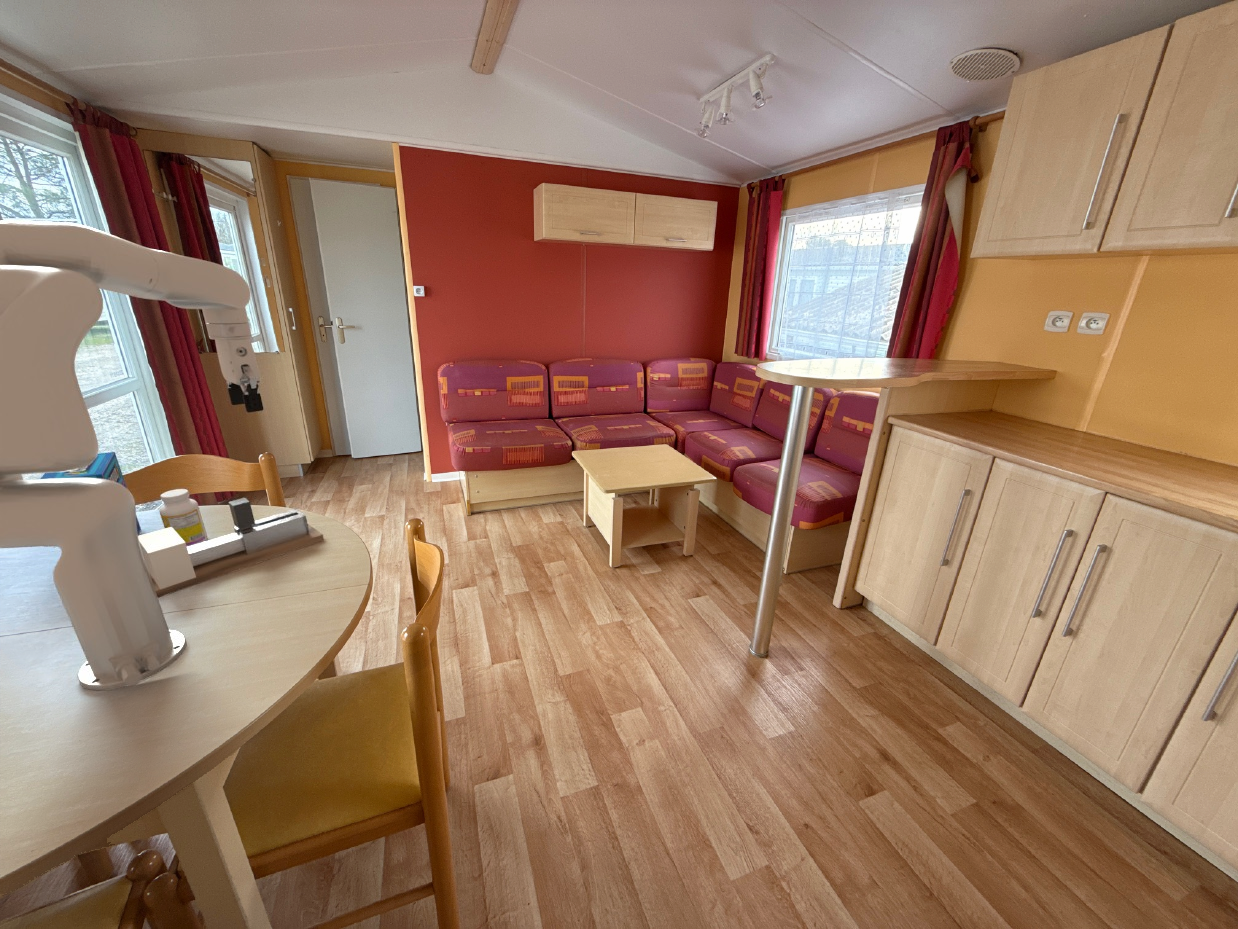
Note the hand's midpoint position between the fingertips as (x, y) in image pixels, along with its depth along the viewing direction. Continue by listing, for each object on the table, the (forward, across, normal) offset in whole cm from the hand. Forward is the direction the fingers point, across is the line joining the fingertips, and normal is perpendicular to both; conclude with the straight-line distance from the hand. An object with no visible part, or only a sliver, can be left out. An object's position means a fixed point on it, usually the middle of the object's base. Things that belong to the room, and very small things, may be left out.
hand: (247, 407), depth 113 cm
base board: (+30, -12, +11) cm, 34 cm away
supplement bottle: (+31, +4, +16) cm, 35 cm away
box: (+31, +14, +28) cm, 44 cm away
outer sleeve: (+29, -12, +4) cm, 31 cm away
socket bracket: (+29, -12, +22) cm, 38 cm away
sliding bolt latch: (+28, -12, +14) cm, 33 cm away
